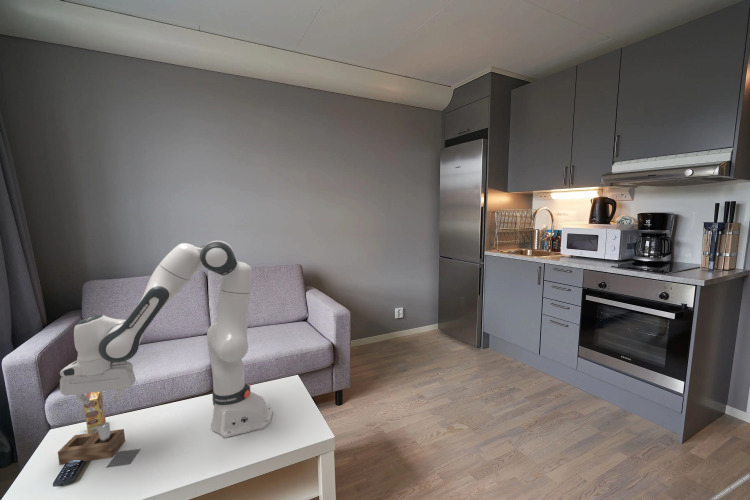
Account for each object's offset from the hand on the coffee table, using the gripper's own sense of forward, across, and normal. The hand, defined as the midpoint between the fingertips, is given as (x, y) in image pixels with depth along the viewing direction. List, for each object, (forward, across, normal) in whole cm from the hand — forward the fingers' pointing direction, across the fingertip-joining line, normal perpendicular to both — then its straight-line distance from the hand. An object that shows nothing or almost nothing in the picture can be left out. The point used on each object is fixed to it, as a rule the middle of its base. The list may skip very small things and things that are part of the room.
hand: (102, 402), depth 109 cm
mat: (+18, -7, +5) cm, 20 cm away
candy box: (+18, +10, -12) cm, 24 cm away
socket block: (+18, +4, 0) cm, 19 cm away
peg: (+18, +1, 0) cm, 18 cm away
